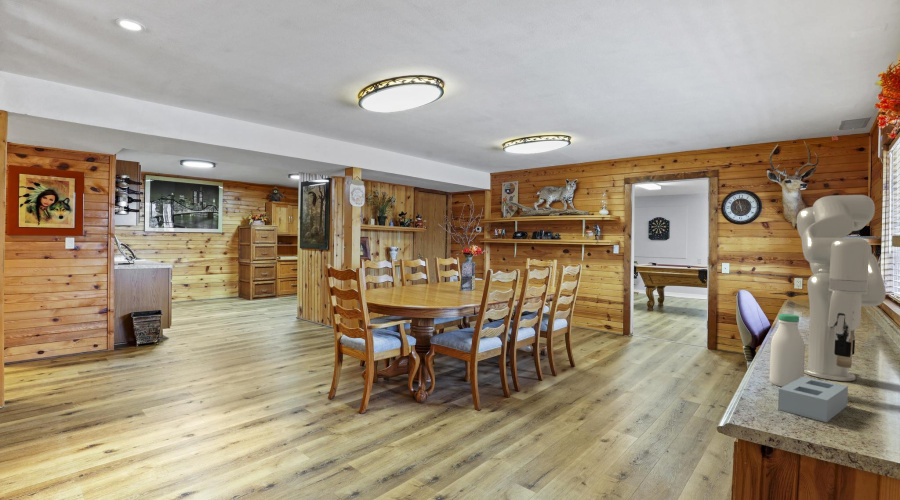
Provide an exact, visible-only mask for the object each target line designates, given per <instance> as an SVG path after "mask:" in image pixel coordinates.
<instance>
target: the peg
mask: <svg viewBox="0 0 900 500" xmlns="http://www.w3.org/2000/svg"><path fill="white" fill-rule="evenodd" d="M844 329H846V330H848V329H847V328H844ZM844 333H846V334H847V332H844ZM853 340H854V339H853V330H852V331H851V334H850V342H851V356H850V357H844V356H839V355H837V360H836V365H837V366H840V367H844V368H849V369H850V368H852V361H853V360H852V359H853V355H852V347H853Z"/></svg>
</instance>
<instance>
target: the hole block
mask: <svg viewBox="0 0 900 500" xmlns="http://www.w3.org/2000/svg"><path fill="white" fill-rule="evenodd" d="M848 394H849V385H844V384H841V383H836V382H831V381H826V380H821V379H816V378H812V377H809V376H808V377H807V376H804V377H801V378H799V379H797V380H795V381H793V382H791V383H789V384H787V385H785V386H783V387H781V386H780V388H778V401H777V402H778V403H777V410H778V411H782V412H786V413H789V414H794V415H796V416H800V417H805V418H808V419H813V420H816V421H820V422H822V423H828V422H829V421H830V420H831V419H832V418H834V417H835V416H837V415H838V414H839V413H840V412H842V411H843V410H844V409H845V408H847V407H848V397H849V396H848Z"/></svg>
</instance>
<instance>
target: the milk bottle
mask: <svg viewBox="0 0 900 500" xmlns="http://www.w3.org/2000/svg"><path fill="white" fill-rule="evenodd" d="M778 323H779V324H778V327H777V330H776V332H774V334H773V336H772V338H771V342H770V343H771V344H770V356H769V382H770V383H771V384H773V385H775V386H778V387H780V388H781V387H783V386H785V385H787V384H789V383H791V382H793V381H795V380H797V379H799V378H801V377H805V373H804V366H805V354H806V350H805V349H806V347H805V341H804V339H803V337H802V335H801V333H800V330H799V327H798V326H799V324H800V316H799V315H796V314H790V313H779V314H778Z"/></svg>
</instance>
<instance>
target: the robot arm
mask: <svg viewBox="0 0 900 500" xmlns="http://www.w3.org/2000/svg"><path fill="white" fill-rule="evenodd" d="M875 210H876V207H875V202H874V201H873V199H872V198H871V197H869V196H867V195H864V194H847V195H846V194H842V195H837V194H836V195H825V196H822V197H820V198H819V199H817V200H815V202H814V203H813V205H812V206H811V207H805V208H803V209H801V210H800V211H799V212H798V214H797V216H796V228H797V232H798V235H799V237H800V239H801V248H802V252H803V253H802V254H803V257H804V259H805V260H806V261H807V262H808V263H809V269H810V270H811V272H812V275H811V276H810V277H808V278H807V284H806V285H807V287H806V288H807V294H808V301H809V325H808V326H809V329H808V330H809V331H808V350H807V351H808V355H807V356H808V357H807V365H804V374H805V375H808V376H813V377H816V378H820V379H826V380H831V381H839V382H840V381H841V382H852V381H855V380H856V374H854V373H852V372H849V370H850V368H844V367H840V366H837V365H836V360H837V355H839V356H844V357H850V356H851V342H850V334H851V331H852V330H853V347H852V356H853V355H855V351H856V350H855V349H856V348H855V346H856V339H855V338H856V329H857V328H859V327H860V325H861V319H862V307H877V306H881V304H883V303H884V301H885V299H886V296H887V295H886V287H885V283H884V279H883V275H882V272H881V268H880V265H879V262H878V259H877V258H876V256H875V255H874V254H873V253H872V251H873V250H872V245H871V244H870V243H869V242H868V241H867V240H866V239H865V238H864V239H863V238H859V237H847V236H849V234H851V233H852V232H856V231H860V230H862V229H863V228H864V227H865V226H867V225H868V224H869V223H870V222H871V221H872V219H873V218H874V216H875V212H876V211H875ZM844 328H847V329H848V330H846V329H844ZM844 332H847V334H846V333H844Z"/></svg>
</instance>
